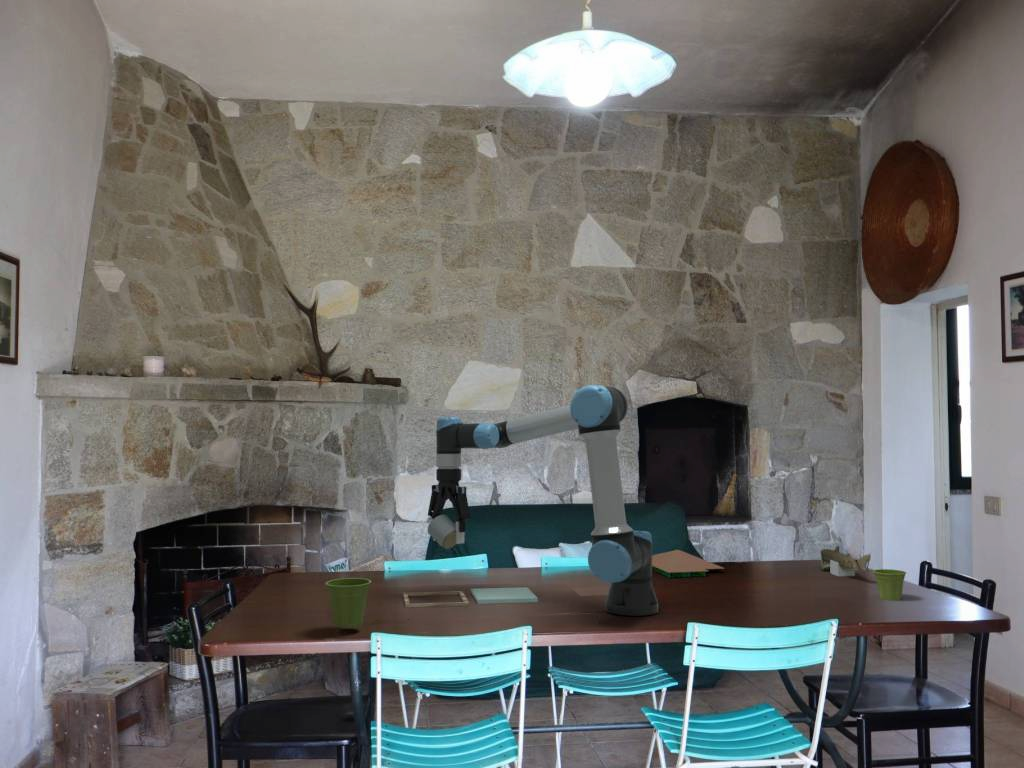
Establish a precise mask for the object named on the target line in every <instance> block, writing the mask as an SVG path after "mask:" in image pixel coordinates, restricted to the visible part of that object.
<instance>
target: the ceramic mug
mask: <svg viewBox="0 0 1024 768" xmlns="http://www.w3.org/2000/svg"><path fill="white" fill-rule="evenodd" d="M427 534H428V535H429V536H430V537H431V538H432V539H433V538H434V539H435V540H436V543H438V545H439V546H440V547H442V548H443V549H447V550H448V549H452V548H453V547H454V546H456V545H457V544H456V523H454V522H453V521H452V520H451V519H450V518H449V516H448V515H446V514H441V515H439V516H437V517H436V518H434V519H432V520H431V521H430V523H428V527H427ZM465 535H466V531H465V532H464V536H465Z"/></svg>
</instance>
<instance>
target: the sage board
mask: <svg viewBox="0 0 1024 768" xmlns="http://www.w3.org/2000/svg"><path fill="white" fill-rule="evenodd" d="M470 594H471V596H472V597H473V598H474V600H475V602H476V604H477V605H481V604H484V605H486V604H487V605H488V604H519V603H520V604H521V603H523V604H524V603H538V602H539V599H538V597H537V595H535V594H534V593H533V591H532V590H530V588H529V587H527V586H526V587H524V586H523V587H494V588H492V587H491V588H490V587H488V588H487V587H486V588H470Z"/></svg>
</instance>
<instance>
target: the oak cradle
mask: <svg viewBox="0 0 1024 768" xmlns="http://www.w3.org/2000/svg"><path fill="white" fill-rule="evenodd" d="M402 594H403V600H404V606H405V607H404V608H425V607H428V608H431V607H432V608H433V607H460V606H461V607H465V606H466V607H467V606H470V601H469V600H468V598H467V596H466V595H465V593H464V591H461V590H460V591H459V590H458V591H456V590H455V591H425V592H424V591H422V592H417V591H416V592H413V591H412V592H403V593H402ZM456 595H457V596H459V597H460V599H461V602H460V601H459V602H458V601H456V602H423V603H422V602H420V603H417V602H416V603H413V602H412V603H410V599H409V597H415V596H417V597H418V596H420V597H423V596H425V597H426V596H456Z"/></svg>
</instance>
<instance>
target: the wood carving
mask: <svg viewBox="0 0 1024 768" xmlns="http://www.w3.org/2000/svg"><path fill="white" fill-rule="evenodd" d="M840 547H841V546H840V545H836V546H835V549H828V548H827V549H826V548H824V549H821V550H820V555H821V556H820V558H821V559H820V560H821V561H820V562H821V566H820V569H822V570H823V569H825V568H829V570H830V573H829V574H832V575H834V576H837V577H855V576H856V572H858V573H862V574H864V575H865V574H866V575H867V574H869V564H870V562H871V561H870V560H871V557H872V555H871V553H868V554H864V555H863V556H861V557H860V558H858V559H857V558H854V557H852V556H851V553H847V554H845V553H841V552H840Z"/></svg>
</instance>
